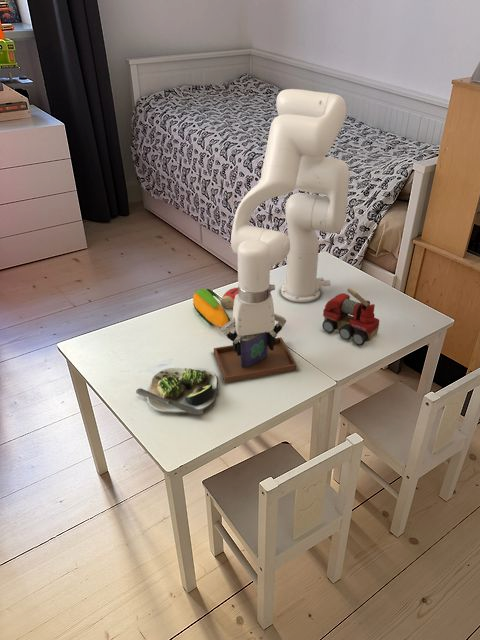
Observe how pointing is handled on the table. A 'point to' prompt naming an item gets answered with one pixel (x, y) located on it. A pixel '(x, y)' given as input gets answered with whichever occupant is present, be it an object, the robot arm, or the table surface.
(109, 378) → the table surface
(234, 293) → the ladybug figurine
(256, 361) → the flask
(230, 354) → the tray
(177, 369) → the avocado toast plate
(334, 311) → the toy fire truck
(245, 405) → the table surface
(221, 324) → the corn
